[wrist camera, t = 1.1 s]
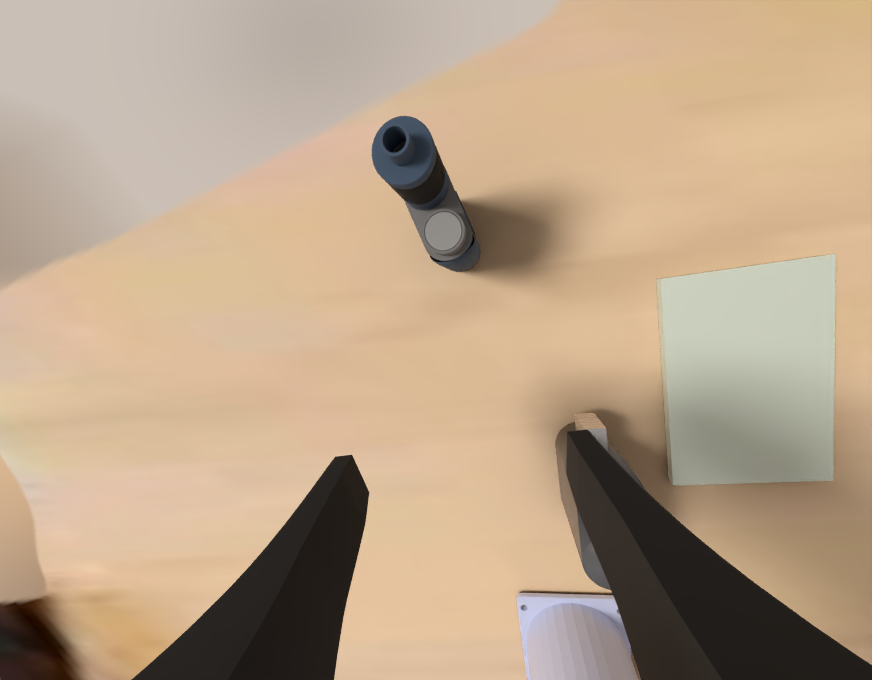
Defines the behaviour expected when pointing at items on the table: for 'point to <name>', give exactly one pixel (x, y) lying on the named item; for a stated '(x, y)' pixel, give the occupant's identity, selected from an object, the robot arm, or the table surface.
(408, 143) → the vaping device
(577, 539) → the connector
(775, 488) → the table surface
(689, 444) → the board
